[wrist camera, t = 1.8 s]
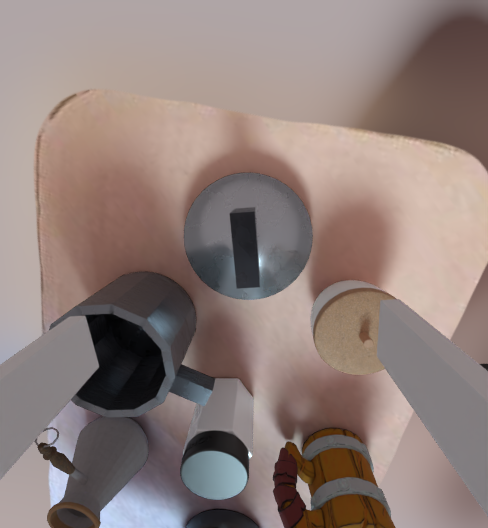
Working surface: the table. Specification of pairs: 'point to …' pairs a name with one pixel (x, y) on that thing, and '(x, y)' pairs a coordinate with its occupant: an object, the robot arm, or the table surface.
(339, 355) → the lidded jar
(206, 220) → the lid
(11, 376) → the robot arm
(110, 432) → the coffee pot
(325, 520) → the mug
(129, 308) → the pot
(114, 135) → the table surface
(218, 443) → the jar
